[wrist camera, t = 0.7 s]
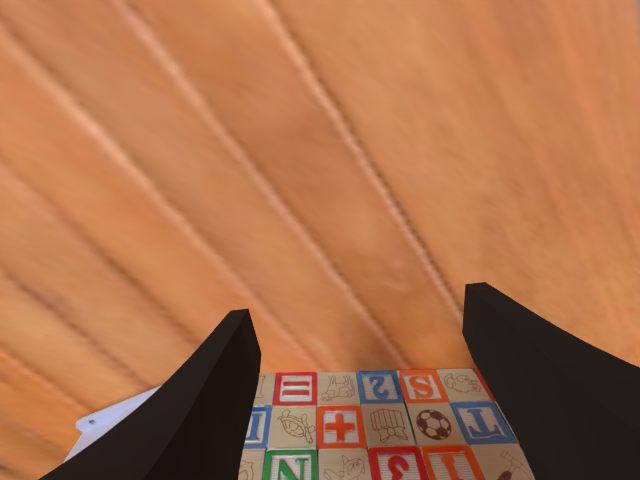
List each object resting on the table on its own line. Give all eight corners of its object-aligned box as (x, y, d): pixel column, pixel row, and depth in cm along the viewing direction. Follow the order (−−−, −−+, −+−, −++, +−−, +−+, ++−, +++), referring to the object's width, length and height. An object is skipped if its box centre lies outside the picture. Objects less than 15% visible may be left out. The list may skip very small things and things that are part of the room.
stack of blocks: (512, 363, 26) (667, 570, 15) (496, 420, 29) (617, 632, 18) (234, 372, 26) (177, 594, 14) (242, 429, 28) (199, 655, 17)
